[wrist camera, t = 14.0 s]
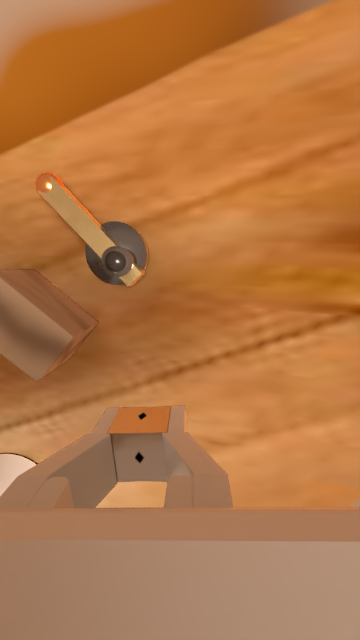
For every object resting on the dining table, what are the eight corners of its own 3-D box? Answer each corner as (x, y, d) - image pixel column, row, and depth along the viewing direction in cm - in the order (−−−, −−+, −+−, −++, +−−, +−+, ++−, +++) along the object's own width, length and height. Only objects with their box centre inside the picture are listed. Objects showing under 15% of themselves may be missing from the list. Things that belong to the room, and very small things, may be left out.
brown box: (68, 359, 38) (37, 382, 31) (-3, 302, 37) (-54, 311, 29) (98, 322, 37) (73, 337, 29) (26, 262, 36) (-21, 260, 28)
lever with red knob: (163, 258, 34) (156, 256, 28) (124, 297, 36) (109, 303, 29) (77, 164, 32) (50, 140, 26) (39, 209, 34) (5, 195, 27)
